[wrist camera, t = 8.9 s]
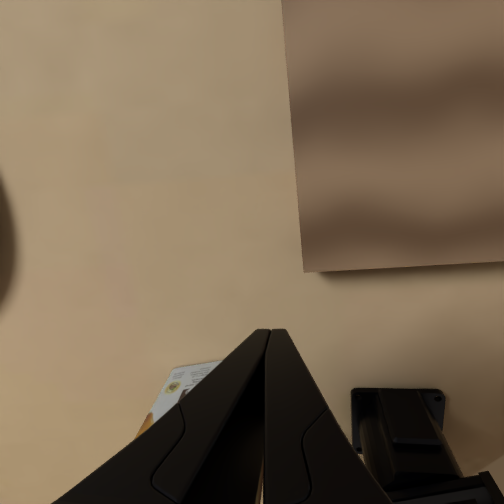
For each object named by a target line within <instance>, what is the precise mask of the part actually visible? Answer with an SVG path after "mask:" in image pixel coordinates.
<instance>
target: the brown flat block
mask: <svg viewBox="0 0 504 504" xmlns="http://www.w3.org/2000/svg"><path fill="white" fill-rule="evenodd" d="M281 2H282V14H283V26H284V38H285V50H286V62H287V75H288V87H289V99H290V111H291V123H292V135H293V148H294V160H295V172H296V184H297V196H298V209H299V221H300V233H301V245H302V257H303V269H304V273H307V272H324V271H342V270H359V269H376V268H394V267H411V266H428V265H446V264H463V263H480V262H498V261H504V0H281Z"/></svg>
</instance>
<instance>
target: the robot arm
mask: <svg viewBox="0 0 504 504" xmlns="http://www.w3.org/2000/svg"><path fill="white" fill-rule="evenodd" d="M356 395H359V396H356ZM436 396H438V397H436ZM444 409H445V396H444V394H443V392H442V391H441V390H438V389H393V388H354V389H352V390H351V425H352V445H351V444H350V443H349V441H348V439H347V438H346V436H345V434H344V433H343V431H342V429H341V428H340V426H339V424H338V423H337V421H336V419H335V417H334V415H333V413H332V412H331V410H330V409H329V407H328V405H327V403H326V401H325V399H324V397H323V396H322V394H321V392H320V390H319V388H318V386H317V385H316V383H315V381H314V379H313V377H312V376H311V374H310V372H309V370H308V368H307V366H306V365H305V363H304V361H303V359H302V357H301V356H300V354H299V352H298V350H297V348H296V346H295V345H294V343H293V341H292V339H291V337H290V336H289V334H288V332H287V330H286V329H272V330H270V329H257V330H255V331H254V332H253V333H252V334H251V335H250V336H249V337H248V338H246V339H245V340H244V341H243V342H242V343H241V344H240V345H239V346H238V347H237V348H236V349H235V350H233V351H232V352H231V353H230V354H229V355H228V356H227V357H226V358H225V359H224V360H223V361H222V362H220V363H219V364H218V365H217V366H216V367H215V368H214V369H213V370H212V371H211V372H210V373H209V374H207V375H206V376H205V377H204V378H203V379H202V380H201V381H200V382H199V383H198V384H197V385H196V386H194V387H193V388H192V389H191V390H190V391H189V392H188V393H187V394H186V395H185V396H184V397H183V398H181V399H180V400H179V403H176V404H175V405H174V406H173V407H172V408H170V409H169V410H168V411H167V412H166V413H165V414H164V415H163V416H162V417H160V418H159V419H158V420H157V421H156V422H155V423H154V424H152V425H151V426H150V427H149V428H148V429H147V430H146V431H144V432H143V433H142V434H141V435H139V436H138V437H137V438H136V439H134V440H133V441H132V442H131V443H129V444H128V445H127V446H126V447H125V448H123V449H122V450H121V451H119V452H118V453H117V454H116V455H114V456H113V457H112V458H110V459H109V460H108V461H107V462H105V463H104V464H103V465H101V466H100V467H99V468H98V469H96V470H95V471H94V472H92V473H91V474H90V475H89V476H87V477H86V478H85V479H83V480H82V481H81V482H80V483H78V484H77V485H76V486H74V487H73V488H72V489H71V490H69V491H68V492H67V493H65V494H64V495H63V496H61V497H60V498H58V499H57V500H56V501H54V502H52V503H51V504H255V501H256V495H257V490H258V484H259V479H260V473H261V468H262V462H263V456H264V468H263V504H504V497H503V495H502V493H501V491H500V490H499V488H498V486H497V485H496V483H495V481H494V479H493V478H492V476H491V475H490V473H489V471H485V472H479V473H478V474H479V475H475V476H469V477H464V476H463V474H462V472H461V470H460V468H459V466H458V464H457V462H456V459H455V457H454V455H453V453H452V451H451V449H450V447H449V445H448V443H447V441H446V439H445V437H444V435H443V433H442V428H443V419H444ZM358 454H363V457H364V462H365V464H364V463H363V461H362V460H361V458H360V457H359V456H358Z"/></svg>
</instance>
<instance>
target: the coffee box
mask: <svg viewBox="0 0 504 504" xmlns="http://www.w3.org/2000/svg"><path fill="white" fill-rule="evenodd" d="M222 361H223V360H222ZM222 361H216V362H210V363H204V364H198V365H192V366H186V367H180V368H175V369H173V370H172V372H171V374H170V376H169V378H168V379H167V381H166V383H165V385H164V387H163V388H162V390H161V392H160V394H159V395H158V397H157V399H156V401H155V403H154V405H153V407H152V408H151V410H150V412H149V414H148V415H147V417H146V419H145V421H144V423H143V425H142V426H141V428H140V430H139V432H138V433H137V435H136V437H135V439H136V438H137V437H138V436H139V435H141V434H142V433H143V432H144V431H146V430H147V429H148V428H149V427H150V426H151V425H152V424H154V423H155V422H156V421H157V420H158V419H159V418H160V417H162V416H163V415H164V414H165V413H166V412H167V411H168V410H169V409H170V408H172V407H173V406H174V405H175V404H176V403H179V400H180V399H181V398H183V397H184V396H185V395H186V394H187V393H188V392H189V391H190V390H191V389H192V388H193V387H194V386H196V385H197V384H198V383H199V382H200V381H201V380H202V379H203V378H204V377H205V376H206V375H207V374H209V373H210V372H211V371H212V370H213V369H214V368H215V367H216V366H217V365H218V364H219V363H220V362H222ZM263 468H264V456H263V462H262V468H261V473H260V479H259V484H258V490H257V495H256V501H255V504H260V500H261V492H262V483H263Z"/></svg>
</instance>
